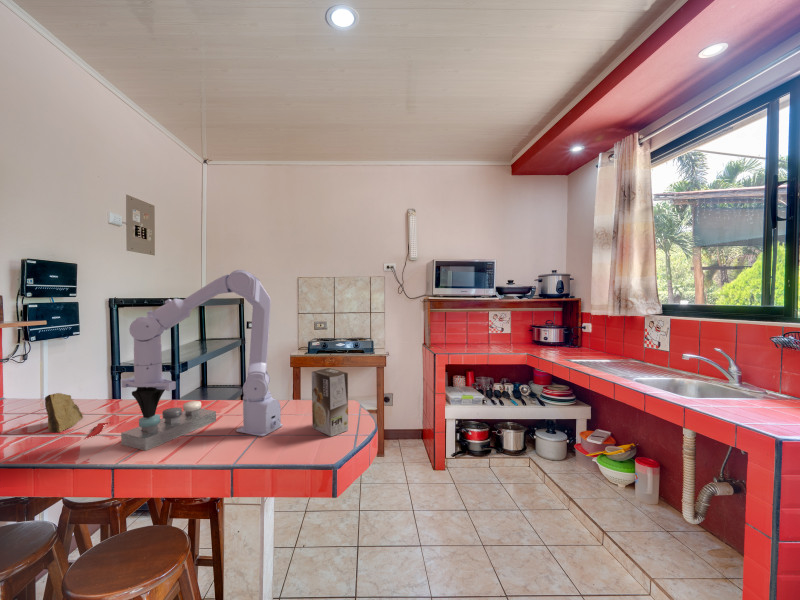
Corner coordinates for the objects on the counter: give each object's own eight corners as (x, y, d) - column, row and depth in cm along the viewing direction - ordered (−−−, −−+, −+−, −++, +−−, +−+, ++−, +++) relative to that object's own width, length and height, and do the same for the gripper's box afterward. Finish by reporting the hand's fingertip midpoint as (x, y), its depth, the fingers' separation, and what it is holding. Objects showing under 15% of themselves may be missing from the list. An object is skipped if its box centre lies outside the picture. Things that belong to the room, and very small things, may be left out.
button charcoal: (185, 421, 96) (185, 408, 96) (170, 427, 92) (170, 414, 92) (174, 419, 98) (174, 406, 98) (158, 425, 94) (158, 411, 93)
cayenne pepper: (106, 423, 102) (106, 417, 102) (122, 423, 102) (122, 417, 102) (68, 441, 90) (68, 434, 90) (87, 441, 90) (86, 434, 90)
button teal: (164, 430, 91) (164, 416, 90) (146, 436, 86) (146, 422, 86) (152, 427, 92) (152, 413, 92) (135, 434, 88) (134, 419, 88)
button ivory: (204, 414, 102) (204, 402, 102) (191, 419, 98) (190, 406, 98) (193, 412, 103) (193, 400, 103) (179, 417, 99) (179, 404, 99)
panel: (216, 421, 103) (215, 411, 103) (145, 450, 84) (145, 438, 84) (194, 417, 106) (193, 407, 106) (121, 444, 87) (121, 432, 87)
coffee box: (349, 430, 96) (349, 372, 96) (330, 437, 92) (330, 376, 91) (329, 421, 102) (329, 367, 102) (310, 427, 98) (310, 371, 97)
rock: (72, 408, 107) (31, 415, 97) (87, 387, 106) (47, 392, 97) (90, 434, 104) (49, 443, 94) (106, 412, 103) (66, 419, 94)
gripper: (185, 361, 91) (186, 413, 92) (139, 359, 94) (140, 408, 95) (161, 367, 84) (162, 423, 85) (113, 364, 87) (114, 418, 88)
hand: (149, 416), depth 89 cm, fingers closed
